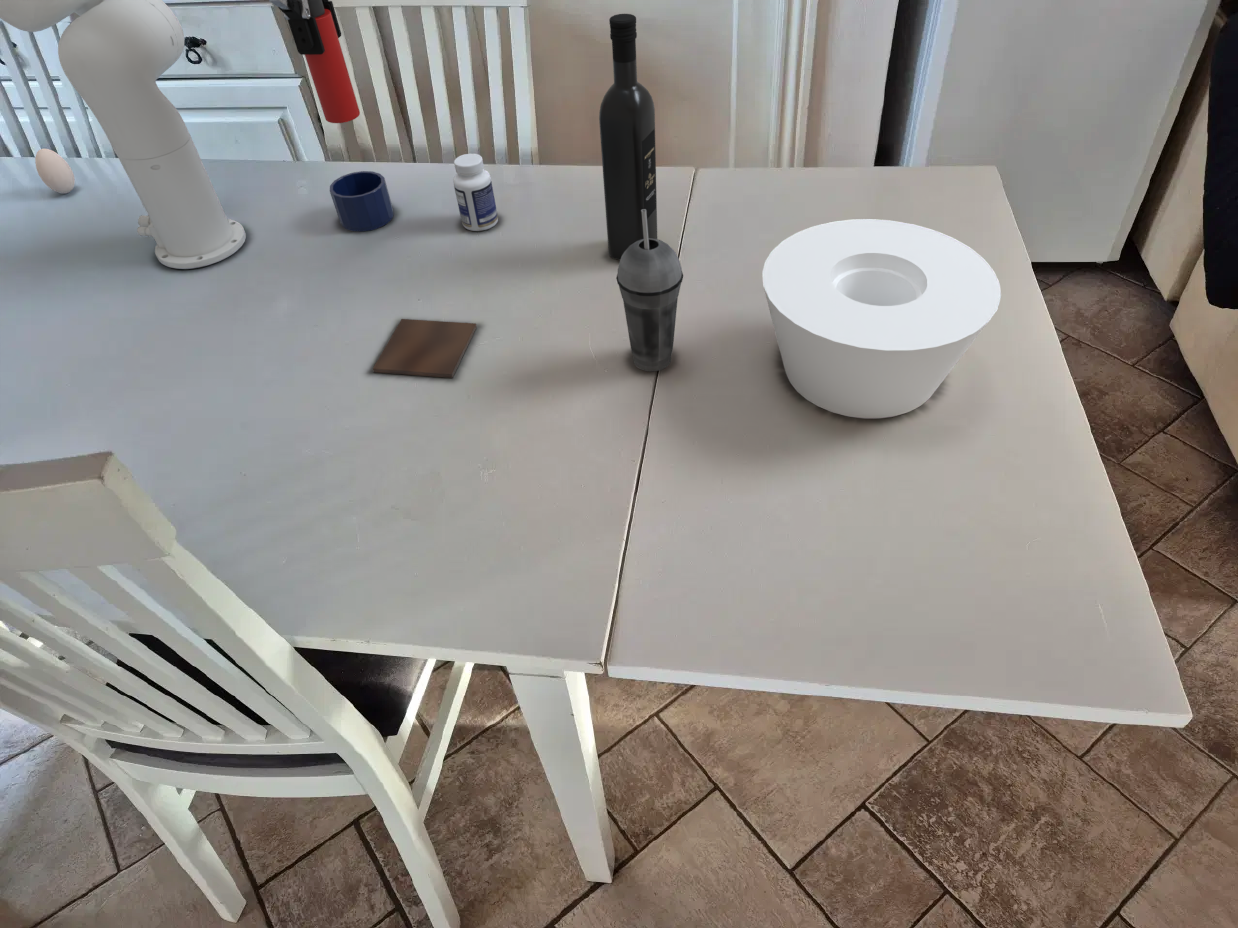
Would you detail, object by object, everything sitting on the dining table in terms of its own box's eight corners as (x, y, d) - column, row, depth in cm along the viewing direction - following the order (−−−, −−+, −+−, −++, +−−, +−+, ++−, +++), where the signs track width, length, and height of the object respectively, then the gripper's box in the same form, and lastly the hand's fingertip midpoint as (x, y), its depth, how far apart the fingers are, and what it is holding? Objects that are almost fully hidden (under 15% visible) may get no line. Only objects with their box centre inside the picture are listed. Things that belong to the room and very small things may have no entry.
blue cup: (332, 230, 121) (320, 196, 117) (353, 203, 127) (342, 170, 123) (382, 232, 120) (372, 198, 116) (401, 205, 126) (392, 172, 122)
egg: (86, 191, 135) (62, 148, 129) (58, 202, 132) (32, 158, 127) (75, 182, 137) (51, 140, 132) (47, 193, 135) (21, 150, 130)
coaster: (373, 372, 98) (372, 368, 97) (402, 322, 104) (401, 318, 104) (452, 378, 96) (451, 374, 96) (477, 327, 103) (476, 323, 102)
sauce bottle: (320, 123, 103) (280, 2, 93) (333, 109, 106) (296, -10, 96) (352, 123, 102) (316, 1, 92) (365, 109, 105) (330, -11, 95)
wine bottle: (660, 245, 114) (655, 11, 92) (643, 266, 110) (635, 28, 89) (623, 238, 116) (610, 7, 94) (606, 258, 112) (588, 23, 90)
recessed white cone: (961, 461, 82) (994, 370, 74) (731, 415, 89) (737, 326, 80) (977, 324, 98) (1006, 235, 89) (779, 293, 104) (788, 207, 96)
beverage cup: (690, 345, 98) (691, 191, 83) (673, 384, 93) (671, 227, 79) (632, 336, 100) (624, 183, 85) (613, 373, 95) (601, 218, 81)
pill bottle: (501, 213, 122) (491, 150, 115) (494, 232, 119) (482, 168, 111) (467, 213, 123) (454, 151, 116) (458, 232, 119) (444, 169, 112)
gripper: (266, -154, 91) (319, 21, 104) (190, -119, 80) (261, 73, 93) (328, -158, 90) (374, 20, 103) (261, -123, 79) (322, 73, 92)
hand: (320, 44), depth 98 cm, fingers closed on sauce bottle, 4 cm apart
